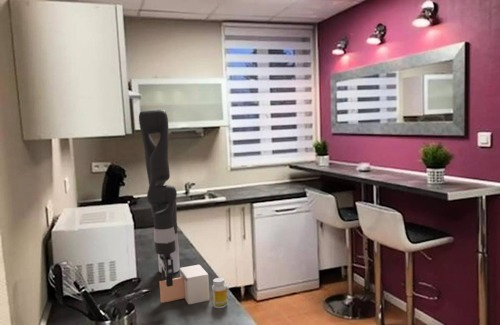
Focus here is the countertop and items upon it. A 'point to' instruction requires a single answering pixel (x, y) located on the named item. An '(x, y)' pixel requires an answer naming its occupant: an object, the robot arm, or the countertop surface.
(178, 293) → the ticket
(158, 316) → the countertop surface
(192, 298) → the white rectangular block
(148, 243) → the countertop surface
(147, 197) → the robot arm
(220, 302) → the supplement bottle
